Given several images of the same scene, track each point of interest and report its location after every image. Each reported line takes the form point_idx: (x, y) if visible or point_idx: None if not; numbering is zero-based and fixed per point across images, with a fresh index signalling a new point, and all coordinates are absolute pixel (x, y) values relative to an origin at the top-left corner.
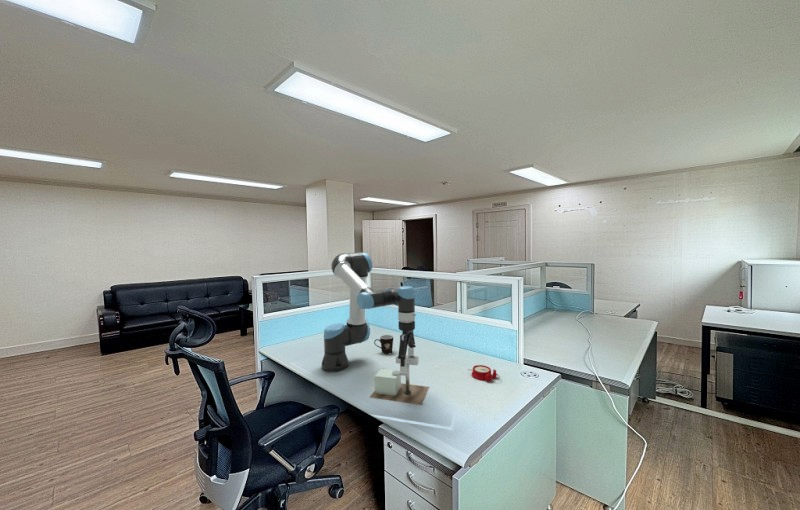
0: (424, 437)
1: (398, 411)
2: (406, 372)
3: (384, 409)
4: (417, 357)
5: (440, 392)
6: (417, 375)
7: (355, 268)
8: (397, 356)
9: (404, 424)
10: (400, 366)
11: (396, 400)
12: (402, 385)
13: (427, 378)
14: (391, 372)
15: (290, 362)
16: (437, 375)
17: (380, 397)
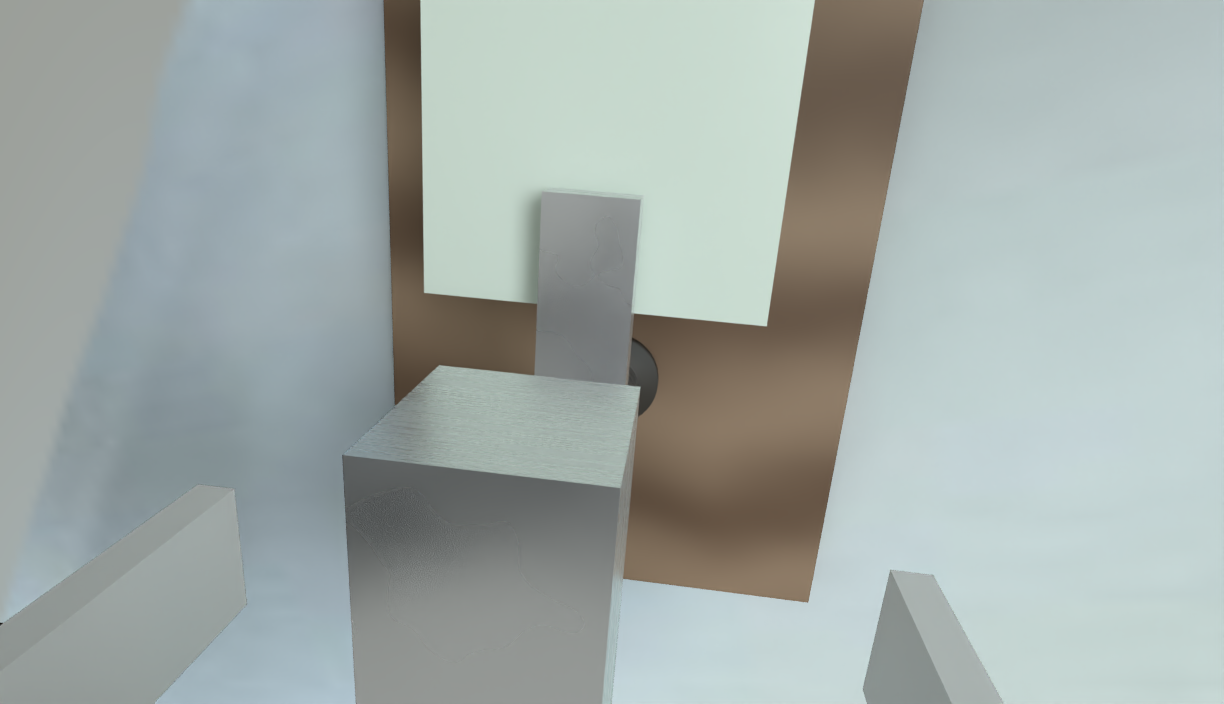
0: (17, 583)
1: (264, 325)
2: (239, 609)
3: (246, 163)
4: None
5: (738, 689)
6: (1213, 416)
7: None
8: (388, 513)
9: (95, 418)
10: (73, 585)
11: (406, 275)
12: (808, 273)
13: (1103, 551)
14: (670, 146)
15: None
16: (1198, 662)
17: (419, 41)
